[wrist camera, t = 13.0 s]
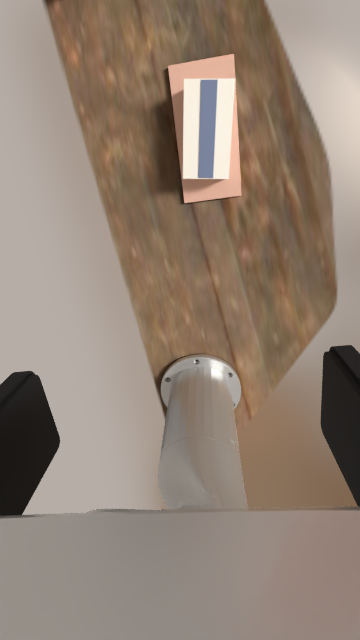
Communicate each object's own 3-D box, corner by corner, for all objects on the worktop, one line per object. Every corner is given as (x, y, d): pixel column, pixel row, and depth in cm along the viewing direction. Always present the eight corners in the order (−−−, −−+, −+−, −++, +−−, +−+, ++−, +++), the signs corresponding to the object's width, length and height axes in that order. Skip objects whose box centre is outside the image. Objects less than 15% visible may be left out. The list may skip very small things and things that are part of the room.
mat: (240, 195, 40) (241, 195, 40) (184, 202, 41) (184, 203, 41) (233, 55, 35) (233, 53, 34) (168, 67, 36) (167, 65, 35)
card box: (231, 88, 36) (235, 78, 32) (226, 178, 39) (228, 179, 35) (185, 88, 36) (183, 78, 32) (184, 178, 39) (182, 178, 36)
